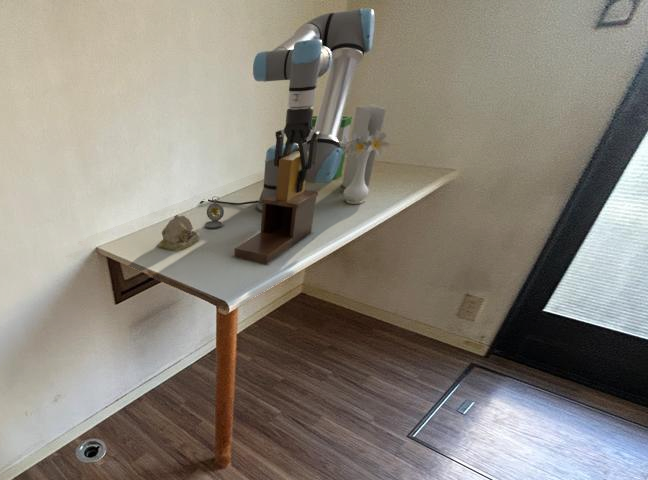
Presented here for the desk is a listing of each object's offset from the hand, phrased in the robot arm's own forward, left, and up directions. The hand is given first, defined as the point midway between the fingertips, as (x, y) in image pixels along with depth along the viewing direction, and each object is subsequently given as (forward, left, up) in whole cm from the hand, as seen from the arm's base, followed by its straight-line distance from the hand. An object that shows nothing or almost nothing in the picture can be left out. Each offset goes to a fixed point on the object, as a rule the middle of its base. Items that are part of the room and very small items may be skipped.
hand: (290, 190), depth 136 cm
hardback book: (-23, +76, -16) cm, 81 cm away
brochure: (-1, +62, -16) cm, 64 cm away
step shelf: (0, -7, -16) cm, 17 cm away
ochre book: (0, 0, -2) cm, 2 cm away
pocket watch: (-29, -2, -16) cm, 33 cm away
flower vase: (+5, +45, -16) cm, 48 cm away
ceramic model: (-30, -23, -16) cm, 41 cm away
